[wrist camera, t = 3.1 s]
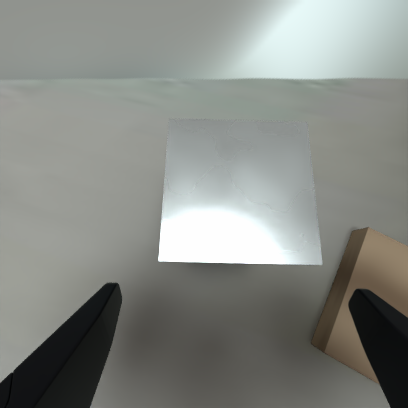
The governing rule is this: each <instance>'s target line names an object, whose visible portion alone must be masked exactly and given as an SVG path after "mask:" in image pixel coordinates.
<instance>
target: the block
mask: <svg viewBox="0 0 408 408" xmlns="http://www.w3.org/2000/svg"><path fill="white" fill-rule="evenodd" d="M358 288H362V289H369V290H371V291H372V292H373V293H375V294H376V295H378V296H379V297H380V298H382V299H383V300H384V301H386V302H387V303H388V304H390V305H391V306H393V307H394V308H395V309H397V310H398V311H399V312H401V313H402V314H404V315H405V316H406V317H408V246H406V245H404V244H402V243H400V242H398V241H396V240H394V239H392V238H390V237H388V236H385V235H383V234H381V233H379V232H377V231H375V230H373V229H371V228H369V227H368V228H363V229H359V230H355V231H352V234H351V236H350V239H349V242H348V245H347V247H346V250H345V253H344V255H343V258H342V261H341V263H340V266H339V269H338V271H337V274H336V277H335V280H334V282H333V285H332V288H331V290H330V293H329V296H328V298H327V301H326V304H325V306H324V309H323V312H322V315H321V317H320V320H319V323H318V325H317V328H316V331H315V333H314V336H313V339H312V342H311V344H313V345H314V346H315V347H317V348H318V349H320V350H321V351H322V352H324V353H325V354H327V355H329V356H331V357H332V358H334V359H336V360H338V361H339V362H341V363H343V364H345V365H346V366H348V367H350V368H352V369H354V370H355V371H357V372H359V373H361V374H362V375H364V376H366V377H368V378H369V379H371V380H373V381H375V382H376V383H378V384H379V382H378V379H377V377H376V375H375V373H374V371H373V369H372V367H371V364H370V362H369V360H368V358H367V356H366V354H365V351H364V349H363V346H362V344H361V341H360V338H359V335H358V333H357V330H356V327H355V324H354V322H353V319H352V316H351V313H350V311H349V307H348V302H349V300H350V298H351V296H352V294H353V292H354V290H355V289H358Z"/></svg>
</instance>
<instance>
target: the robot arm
mask: <svg viewBox="0 0 408 408" xmlns="http://www.w3.org/2000/svg"><path fill="white" fill-rule="evenodd" d="M121 304H122V295H121V291H120V287H119V284H118V283H106V284H105V285H104V286H103V287H102V288H101V289H100V290H99V291H98V292H96V293H95V294H94V295H93V296H92V297H91V298H90V299H89V300H88V301H87V302H86V303H85V304H84V305H83V306H82V307H81V308H79V309H78V310H77V311H76V312H75V313H74V314H73V315H72V316H71V317H70V318H69V319H68V320H67V321H66V322H65V323H64V324H62V325H61V326H60V327H59V328H58V329H57V330H56V331H55V332H54V333H53V334H52V335H51V336H50V337H49V338H48V339H47V340H45V341H44V342H43V343H42V344H41V345H40V346H39V347H38V348H37V349H36V350H35V351H34V352H33V353H32V354H31V355H30V356H28V357H27V358H26V359H25V360H24V361H23V362H22V363H21V364H20V365H19V366H18V367H17V368H16V369H15V370H14V371H13V373H10V374H9V375H8V376H7V377H6V378H5V379H4V380H3V381H2V382H1V383H0V408H90V406H91V403H92V400H93V397H94V394H95V391H96V388H97V386H98V383H99V380H100V377H101V374H102V371H103V368H104V366H105V363H106V360H107V357H108V354H109V351H110V348H111V345H112V341H113V337H114V333H115V329H116V325H117V321H118V316H119V312H120V308H121ZM348 307H349V311H350V313H351V316H352V319H353V322H354V324H355V327H356V330H357V333H358V335H359V338H360V341H361V344H362V346H363V349H364V351H365V354H366V356H367V358H368V360H369V362H370V364H371V367H372V369H373V371H374V373H375V375H376V377H377V379H378V382H379V384H380V386H381V388H382V390H383V392H384V394H385V396H386V399H387V401H388V403H389V405H390V407H391V408H408V317H406V316H405V315H404V314H402V313H401V312H399V311H398V310H397V309H395V308H394V307H393V306H391V305H390V304H388V303H387V302H386V301H384V300H383V299H382V298H380V297H379V296H378V295H376V294H375V293H373V292H372V291H371V290H369V289H362V288H358V289H355V290H354V292H353V294H352V296H351V298H350V300H349V302H348Z"/></svg>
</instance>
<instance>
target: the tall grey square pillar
mask: <svg viewBox="0 0 408 408" xmlns="http://www.w3.org/2000/svg"><path fill="white" fill-rule="evenodd" d="M159 261H163V262H192V263H234V264H286V265H323V264H322V255H321V245H320V236H319V227H318V217H317V208H316V198H315V189H314V180H313V170H312V161H311V152H310V142H309V133H308V124H307V122H298V121H253V120H208V119H169V124H168V138H167V151H166V165H165V179H164V193H163V207H162V221H161V235H160V249H159Z"/></svg>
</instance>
